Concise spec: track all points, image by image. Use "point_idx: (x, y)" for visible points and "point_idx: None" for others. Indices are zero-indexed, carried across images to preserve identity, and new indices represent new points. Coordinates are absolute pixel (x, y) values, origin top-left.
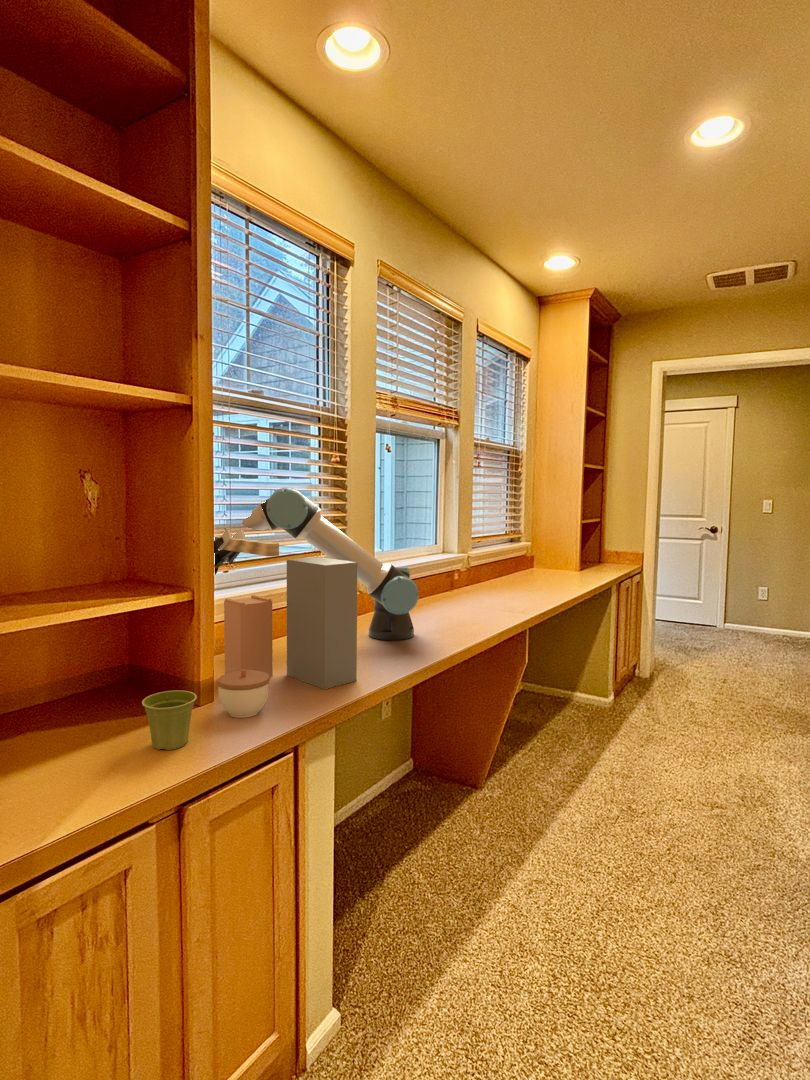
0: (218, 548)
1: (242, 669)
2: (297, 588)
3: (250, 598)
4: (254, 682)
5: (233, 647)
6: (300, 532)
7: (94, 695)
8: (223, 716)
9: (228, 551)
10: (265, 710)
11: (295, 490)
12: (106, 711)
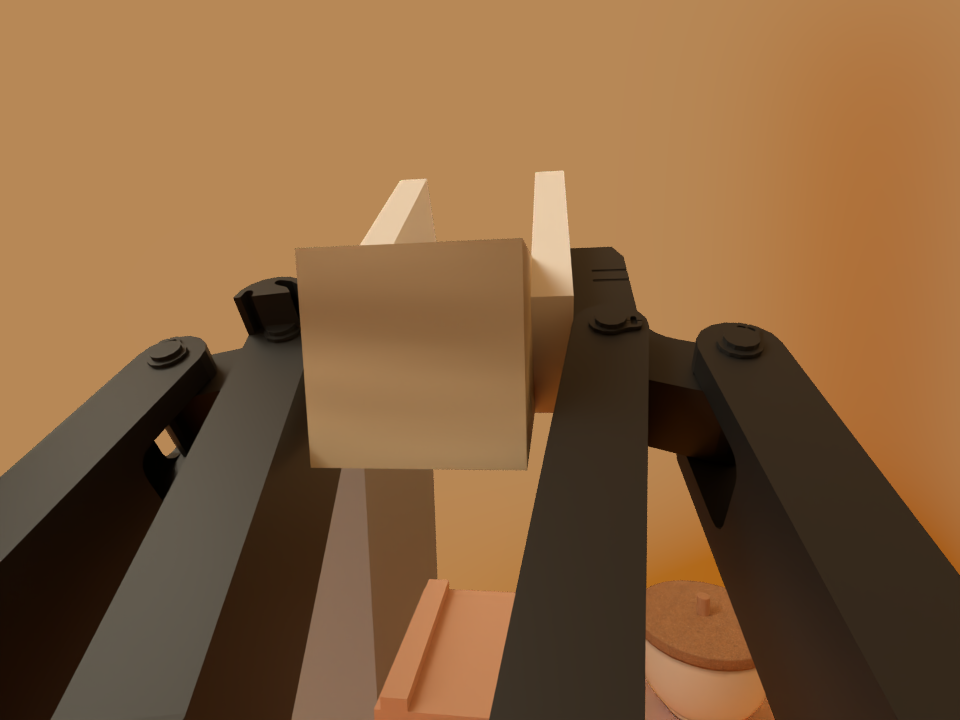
0: (531, 426)
1: (705, 598)
2: (392, 476)
3: (441, 688)
4: (691, 582)
5: None
6: None
7: None
8: (758, 715)
9: (326, 500)
10: (645, 681)
11: None
12: None
